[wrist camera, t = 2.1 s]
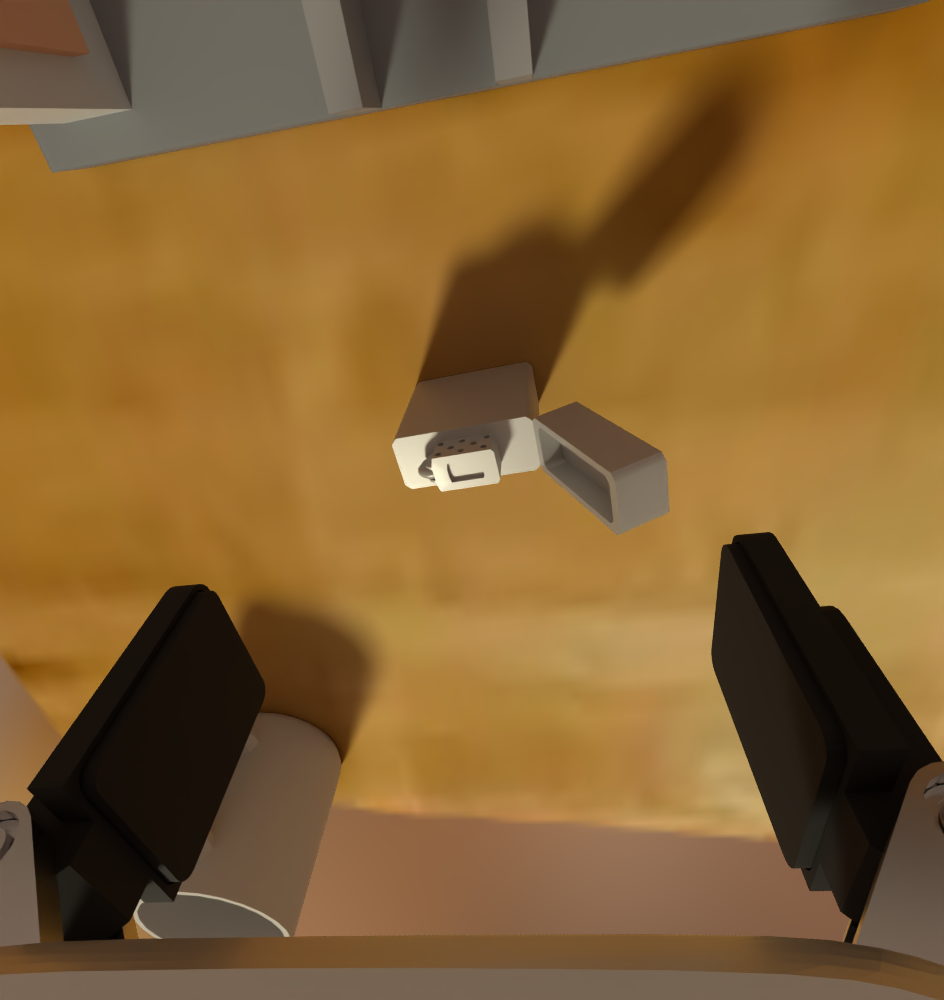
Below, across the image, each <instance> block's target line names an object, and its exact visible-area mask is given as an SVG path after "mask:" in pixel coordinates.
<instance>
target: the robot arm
mask: <svg viewBox="0 0 944 1000" xmlns="http://www.w3.org/2000/svg"><path fill="white" fill-rule="evenodd" d="M711 654H712V663H713V667H714V671H715V674H716V676H717V679H718V682H719V684H720V687H721V690H722V692H723V695H724V698H725V700H726V703H727V706H728V708H729V711H730V714H731V716H732V719H733V722H734V724H735V727H736V730H737V732H738V735H739V738H740V741H741V743H742V746H743V749H744V751H745V754H746V757H747V759H748V762H749V765H750V767H751V770H752V773H753V775H754V778H755V781H756V783H757V786H758V789H759V791H760V794H761V797H762V799H763V802H764V805H765V807H766V810H767V813H768V815H769V818H770V821H771V823H772V826H773V829H774V831H775V834H776V837H777V839H778V842H779V845H780V847H781V850H782V853H783V855H784V857H785V860H786V862H787V863H788V865H789V866H790V867H791V868H801V870H802V873H803V875H804V878H805V880H806V883H807V885H808V888H809V890H810V891H832V893H833V895H834V897H835V899H836V902H837V904H838V907H839V909H840V911H841V912H842V913H843V914H845V915H846V916H847V917H849V918H850V920H849V923H848V926H847V929H846V932H845V934H844V937H843V940H842V942H838V941H832V940H819V939H803V938H787V937H772V936H729V935H728V936H726V935H661V934H655V935H654V934H627V935H626V934H616V935H615V934H614V935H613V934H612V935H611V934H610V935H609V934H607V935H605V934H602V935H427V936H426V935H422V936H421V935H415V936H315V937H314V936H311V937H309V936H308V937H231V938H162V939H138V934H137V929H136V925H135V920H134V915H133V914H134V912H135V909H136V907H137V905H138V903H139V901H140V899H141V900H142V901H143V902H144V903H154V902H174V900H175V898H176V896H177V893H178V891H179V888H180V886H181V884H182V882H184V881H186V880H187V879H188V878H189V877H190V876H191V874H192V872H193V870H194V868H195V866H196V864H197V861H198V859H199V856H200V854H201V851H202V849H203V847H204V844H205V842H206V839H207V837H208V834H209V832H210V830H211V827H212V825H213V822H214V820H215V817H216V815H217V812H218V810H219V808H220V805H221V803H222V800H223V798H224V795H225V793H226V791H227V788H228V786H229V783H230V781H231V778H232V776H233V774H234V771H235V769H236V766H237V764H238V761H239V759H240V757H241V754H242V752H243V749H244V747H245V744H246V742H247V739H248V737H249V735H250V732H251V730H252V727H253V725H254V722H255V720H256V718H257V715H258V713H259V710H260V708H261V705H262V703H263V700H264V697H265V684H264V681H263V679H262V677H261V675H260V673H259V671H258V670H257V668H256V666H255V664H254V662H253V660H252V658H251V656H250V655H249V653H248V651H247V649H246V647H245V645H244V643H243V641H242V640H241V638H240V636H239V634H238V632H237V630H236V628H235V626H234V625H233V623H232V621H231V619H230V617H229V615H228V613H227V611H226V610H225V608H224V606H223V604H222V602H221V600H220V598H219V596H218V595H217V594H216V593H215V592H214V591H210V590H209V589H208V587H207V586H205V585H203V584H196V585H185V586H175V587H172V588H169V590H168V591H167V592H166V593H165V594H164V596H163V597H162V598H161V600H160V601H159V603H158V604H157V605H156V607H155V608H154V610H153V611H152V612H151V614H150V615H149V617H148V618H147V620H146V621H145V622H144V624H143V625H142V627H141V628H140V629H139V631H138V632H137V634H136V635H135V637H134V638H133V639H132V641H131V642H130V644H129V645H128V646H127V648H126V649H125V651H124V652H123V653H122V655H121V656H120V658H119V659H118V661H117V662H116V663H115V665H114V666H113V668H112V669H111V670H110V672H109V673H108V675H107V676H106V678H105V679H104V680H103V682H102V683H101V685H100V686H99V687H98V689H97V690H96V692H95V693H94V694H93V696H92V697H91V699H90V700H89V702H88V703H87V704H86V706H85V707H84V709H83V710H82V711H81V713H80V714H79V716H78V717H77V719H76V720H75V721H74V723H73V724H72V726H71V727H70V728H69V730H68V731H67V733H66V734H65V736H64V737H63V738H62V740H61V741H60V743H59V744H58V745H57V747H56V748H55V750H54V751H53V752H52V754H51V755H50V757H49V758H48V760H47V761H46V762H45V764H44V765H43V767H42V768H41V769H40V771H39V772H38V774H37V775H36V777H35V778H34V780H33V781H32V782H31V784H30V785H29V786H28V788H27V789H28V790H29V791H30V792H31V793H32V794H33V795H34V796H33V798H32V799H31V801H30V802H29V804H28V805H27V806H25V805H24V804H22V803H21V802H16V801H5V802H2V803H0V1000H944V761H942V760H941V758H940V757H939V755H938V754H937V753H936V751H935V750H934V748H933V747H932V745H931V744H930V742H929V741H928V739H927V738H926V736H925V735H924V733H923V732H922V730H921V729H920V727H919V726H918V724H917V723H916V721H915V720H914V718H913V717H912V715H911V714H910V712H909V711H908V709H907V708H906V706H905V705H904V704H903V702H902V701H901V699H900V698H899V696H898V695H897V693H896V692H895V690H894V689H893V687H892V686H891V684H890V683H889V681H888V680H887V678H886V677H885V675H884V674H883V672H882V671H881V669H880V668H879V666H878V665H877V663H876V662H875V660H874V659H873V657H872V656H871V655H870V653H869V652H868V650H867V649H866V647H865V646H864V644H863V643H862V641H861V640H860V638H859V637H858V635H857V634H856V632H855V631H854V629H853V628H852V626H851V625H850V623H849V622H848V620H847V619H846V617H845V616H844V615H843V614H842V613H841V611H840V610H839V609H837V608H835V607H834V606H822V607H820V606H819V604H818V603H817V601H816V599H815V598H814V596H813V595H812V593H811V592H810V590H809V588H808V587H807V585H806V584H805V582H804V581H803V579H802V577H801V576H800V574H799V573H798V571H797V570H796V568H795V566H794V565H793V563H792V562H791V560H790V559H789V557H788V555H787V554H786V552H785V551H784V549H783V548H782V546H781V544H780V543H779V541H778V540H777V538H776V537H775V536H774V534H773V533H770V532H765V533H754V534H743V535H736V536H734V538H733V541H732V544H727V545H723V547H722V551H721V560H720V570H719V580H718V590H717V600H716V610H715V620H714V630H713V640H712V651H711Z"/></svg>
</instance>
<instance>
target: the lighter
mask: <svg viewBox="0 0 944 1000" xmlns="http://www.w3.org/2000/svg"><path fill="white" fill-rule="evenodd" d="M392 447H393V450H394V453H395V456H396V459H397V462H398V465H399V467H400V470H401V473H402V476H403V479H404V482H405V485H406V486H408V487H410V488H412V489H415V488H422V487H428V486H435V485H437V486H438V487H439V489H440V490H441V492H442V491H449V490H456V489H462V488H469V487H476V486H482V485H489V484H495V483H499V481H500V477H501V475H506V474H513V473H519V472H526V471H533V470H536V469H537V468H538V467H539V466H540V465H541V466H542V468H543V470H544V472H545V473H546V474H547V475H549V476H550V477H551V478H552V479H553V480H554V481H556V482H557V483H558V484H559V485H560V486H561V487H562V488H564V489H565V490H566V491H567V492H568V493H569V494H571V495H572V496H573V497H574V498H575V499H576V500H577V501H579V502H580V503H581V504H582V505H583V506H584V507H585V508H587V509H588V510H589V511H590V512H591V513H592V514H594V515H595V516H596V517H597V518H598V519H599V520H600V521H602V522H603V523H604V524H605V525H606V526H607V527H609V528H610V529H611V530H612V531H613V532H614V533H615V534H617V535H619V534H621V533H624V532H626V531H628V530H631V529H633V528H635V527H637V526H640V525H642V524H644V523H646V522H649V521H651V520H653V519H655V518H658V517H660V516H662V515H664V514H666V513H668V512H669V497H668V479H667V461H666V459H665V457H664V455H663V454H662V452H661V451H660V450H658V449H656V448H654V447H653V446H651V445H649V444H648V443H646V442H644V441H643V440H641V439H639V438H637V437H636V436H634V435H632V434H631V433H629V432H627V431H626V430H624V429H622V428H620V427H619V426H617V425H615V424H614V423H612V422H610V421H609V420H607V419H605V418H603V417H602V416H600V415H598V414H597V413H595V412H593V411H592V410H590V409H588V408H586V407H585V406H583V405H581V404H580V403H578V402H574V403H571V404H569V405H566V406H563V407H561V408H558V409H556V410H553V411H550V412H548V413H545V414H543V415H540V416H539V402H538V396H537V390H536V385H535V379H534V373H533V368H532V365H531V364H529V363H527V362H522V363H516V364H511V365H506V366H500V367H495V368H490V369H485V370H479V371H474V372H469V373H463V374H458V375H453V376H448V377H442V378H437V379H432V380H426V381H421V382H419V383H418V384H417V386H416V387H415V390H414V392H413V395H412V397H411V400H410V402H409V405H408V407H407V409H406V412H405V414H404V417H403V419H402V422H401V424H400V427H399V429H398V432H397V434H396V436H395V439H394V441H393V444H392Z"/></svg>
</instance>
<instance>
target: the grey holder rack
mask: <svg viewBox="0 0 944 1000" xmlns="http://www.w3.org/2000/svg"><path fill="white" fill-rule="evenodd" d="M927 1H929V0H0V125H15V124H29V125H30V127H31V130H32V132H33V134H34V136H35V138H36V140H37V142H38V144H39V146H40V148H41V150H42V152H43V155H44V157H45V159H46V161H47V163H48V165H49V167H50V169H51V171H52V173H53V172H61V171H69V170H77V169H85V168H91V167H96V166H101V165H106V164H111V163H116V162H121V161H127V160H132V159H137V158H142V157H147V156H152V155H157V154H162V153H168V152H173V151H178V150H183V149H188V148H193V147H198V146H204V145H209V144H214V143H219V142H224V141H229V140H234V139H239V138H245V137H250V136H255V135H260V134H265V133H270V132H275V131H280V130H286V129H291V128H296V127H301V126H306V125H311V124H316V123H322V122H327V121H332V120H337V119H342V118H347V117H352V116H357V115H363V114H368V113H373V112H378V111H383V110H388V109H393V108H398V107H404V106H409V105H414V104H419V103H424V102H429V101H434V100H440V99H445V98H450V97H455V96H460V95H465V94H470V93H475V92H481V91H486V90H491V89H496V88H501V87H506V86H511V85H516V84H522V83H527V82H532V81H537V80H542V79H547V78H552V77H558V76H563V75H568V74H573V73H578V72H583V71H588V70H593V69H599V68H604V67H609V66H614V65H619V64H624V63H629V62H634V61H640V60H645V59H650V58H655V57H660V56H665V55H670V54H676V53H681V52H686V51H691V50H696V49H701V48H706V47H711V46H717V45H722V44H727V43H732V42H737V41H742V40H747V39H752V38H758V37H763V36H768V35H773V34H778V33H783V32H788V31H794V30H799V29H804V28H809V27H814V26H819V25H824V24H829V23H835V22H840V21H845V20H850V19H855V18H860V17H865V16H870V15H876V14H881V13H886V12H891V11H895V10H899V9H902V8H906V7H910V6H913V5H917V4H920V3H924V2H927Z"/></svg>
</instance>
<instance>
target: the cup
mask: <svg viewBox="0 0 944 1000" xmlns="http://www.w3.org/2000/svg"><path fill="white" fill-rule="evenodd" d="M340 769H341V760H340V756H339V753H338V750H337V747H336V746H335V744H334V743H333V741H332V740H331V739H330V737H328V736H327V735H326V734H325V733H324V732H323V731H321V730H320V729H319V728H317V727H315V726H313V725H312V724H310V723H308V722H306V721H303V720H300V719H298V718H295V717H292V716H288V715H283V714H278V713H258V715H257V718H256V720H255V722H254V725H253V727H252V730H251V732H250V735H249V737H248V739H247V742H246V744H245V747H244V749H243V752H242V754H241V757H240V759H239V761H238V764H237V766H236V769H235V771H234V774H233V776H232V778H231V781H230V783H229V786H228V788H227V791H226V793H225V795H224V798H223V800H222V803H221V805H220V808H219V810H218V812H217V815H216V817H215V820H214V822H213V825H212V827H211V830H210V832H209V834H208V837H207V839H206V842H205V844H204V847H203V849H202V851H201V854H200V856H199V859H198V861H197V864H196V866H195V868H194V870H193V872H192V874H191V876H190V877H189V878H188V879H187V880H186V881H184V882H182V884H181V886H180V888H179V891H178V893H177V896H176V898H175V900H174V902H154V903H144V902H143V901H142V900H141V899H140V901H139V903H138V905H137V907H136V909H135V912H134V914H133V915H134V920H135V921H136V922H137V923H138V925H139V926H140V927H141V928H142V929H144V930H145V931H146V932H148V933H149V934H151V935H152V936H153V937H155V938H157V939H162V938H231V937H294V934H295V931H296V927H297V924H298V920H299V917H300V913H301V910H302V906H303V903H304V899H305V895H306V892H307V888H308V885H309V881H310V878H311V874H312V871H313V868H314V864H315V861H316V857H317V854H318V850H319V847H320V843H321V840H322V836H323V832H324V829H325V825H326V822H327V819H328V815H329V812H330V808H331V805H332V801H333V798H334V794H335V791H336V787H337V784H338V779H339V774H340Z"/></svg>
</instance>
